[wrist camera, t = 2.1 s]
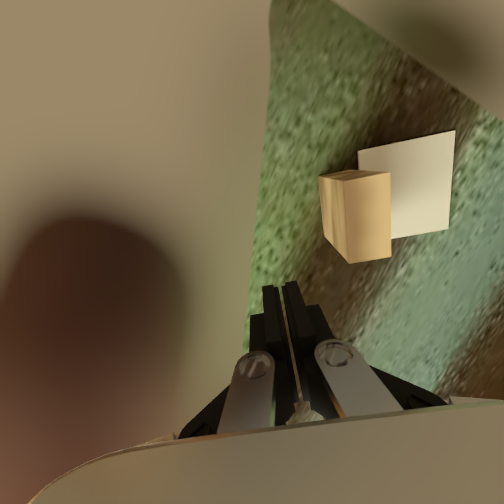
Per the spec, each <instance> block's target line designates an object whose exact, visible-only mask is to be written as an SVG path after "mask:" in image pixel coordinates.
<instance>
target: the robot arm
mask: <svg viewBox="0 0 504 504" xmlns="http://www.w3.org/2000/svg"><path fill="white" fill-rule="evenodd" d="M281 287H282V292H283V298H284V304H285V309H286V315H287V321H288V326H289V332H290V337H291V342H292V347H293V352H294V356H295V361H296V366H297V371H298V376H299V380H300V385H301V390H302V395H303V400H304V401H309V402H310V406H311V410H315V411H316V412H317V413H319V414H320V415H322V416H323V419H324V420H320V421H312V422H305V423H297V424H289V425H288V422H287V421H288V420H289V418H290V417H291V416H292V414H293V413H294V412H295V406H294V402H299V397H298V392H297V386H296V381H295V375H294V370H293V365H292V359H291V354H290V348H289V343H288V337H287V332H286V327H285V322H284V316H283V311H282V306H281V300H280V295H279V290H278V287H273V285H268V286H262V291H263V307H264V313H261V314H255V315H251V316H250V344H249V353H246V354H245V355H243V356H242V357H241V358H240V359H239V360H238V362H237V364H236V366H235V369H234V373H233V376H232V380H231V383H230V385H229V386H228V387H227V388H226V389H224V390H223V391H222V392H221V393H220V394H219V395H218V396H217V397H216V398H215V399H214V400H212V402H211V403H209V404H208V405H207V406H206V407H205V408H204V409H203V410H202V411H201V412H200V413H199V414H197V415H196V416H195V418H193V419H192V420H191V421H190V422H189V423H188V424H187V425H186V426H185V427H184V428H183V429H182V431H181V433H180V434H178V435H175V434H174V432H173V433H170V434H167V435H164V436H162V437H159V438H156V439H154V440H151V441H148V442H145V443H142V444H140V445H137V446H134V447H132V448H127V449H123V450H120V451H116V452H112V453H109V454H106V455H104V456H101V457H99V458H96V459H94V460H91V461H88V462H86V463H84V464H83V465H81V466H79V467H77V468H75V469H73V470H71V471H69V472H67V473H65V474H64V475H62V476H61V477H59V478H57V479H56V480H55V481H53V482H52V483H50V484H49V485H47V486H46V487H45V488H44V489H43V490H41V491H40V492H39V493H38V494H37V495H35V497H33V499H32V500H31V501H30V502H29V503H28V504H504V400H494V399H480V398H467V397H453V396H449V400H443V399H441V398H440V397H439V396H437V395H435V394H433V393H431V392H430V391H427V390H425V389H423V388H420V387H418V386H416V385H413V384H411V383H409V382H407V381H404V380H402V379H400V378H397V377H395V376H393V375H390V374H388V373H386V372H384V371H381V370H379V369H377V368H374V367H372V366H370V365H368V364H367V362H366V361H365V360H364V359H363V357H362V356H361V355H360V353H359V352H358V351H357V350H356V348H355V347H354V346H352V345H351V344H350V343H348V342H346V341H343V340H339V339H334V336H333V334H332V332H331V330H330V328H329V325H328V323H327V321H326V319H325V317H324V315H323V312H322V310H321V308H320V306H319V304H316V305H310V306H305V304H304V301H303V298H302V295H301V292H300V290H299V287H298V284H297V281H291V282H285V286H281Z"/></svg>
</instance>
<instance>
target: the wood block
mask: <svg viewBox="0 0 504 504" xmlns="http://www.w3.org/2000/svg"><path fill="white" fill-rule="evenodd" d="M318 181H319V191H320V200H321V210H322V219H323V229H324V236H325V237H326V238H327V239H328V240H329V242H330V243H331V244H332V245H333V246H334V247H335V248H336V249H337V250H338V251H339V253H340V254H341V255H342V256H343V257H344V258H345V259H346V260H347V261H348V263H349V264H350V263H356V262H362V261H368V260H374V259H380V258H386V257H391V173H390V172H382V171H365V170H346V171H341V172H336V173H331V174H326V175H321V176H318Z"/></svg>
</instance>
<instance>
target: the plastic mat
mask: <svg viewBox="0 0 504 504" xmlns="http://www.w3.org/2000/svg"><path fill="white" fill-rule="evenodd" d="M454 143H455V131H450V132H445V133H440V134H435V135H431V136H426V137H421V138H417V139H412V140H407V141H402V142H398V143H393V144H388V145H383V146H379V147H374V148H369V149H364V150H360V151H357V152H358V170H365V171H382V172H390V173H391V239H393V238H399V237H405V236H410V235H416V234H422V233H428V232H433V231H439V230H445V229H448V225H449V211H450V198H451V184H452V170H453V157H454Z"/></svg>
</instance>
